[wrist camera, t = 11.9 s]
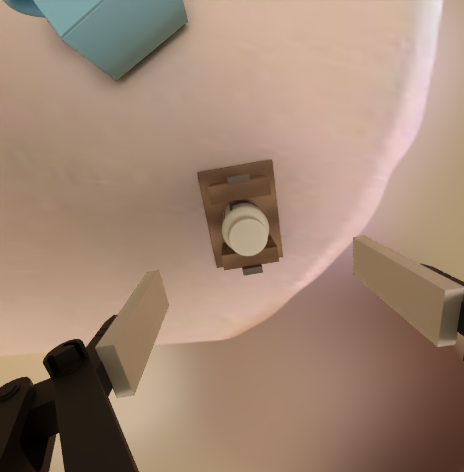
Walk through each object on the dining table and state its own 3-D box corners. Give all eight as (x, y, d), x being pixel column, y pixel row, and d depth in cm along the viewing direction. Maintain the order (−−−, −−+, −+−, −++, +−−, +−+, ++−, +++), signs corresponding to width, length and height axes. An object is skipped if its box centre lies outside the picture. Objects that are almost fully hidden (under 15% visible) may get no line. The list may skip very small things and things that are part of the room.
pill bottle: (246, 242, 33) (254, 271, 24) (215, 222, 32) (210, 245, 23) (268, 211, 32) (285, 230, 23) (236, 190, 31) (241, 200, 22)
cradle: (198, 172, 32) (190, 174, 25) (270, 159, 31) (282, 158, 25) (217, 264, 36) (215, 287, 29) (281, 253, 35) (293, 274, 29)
